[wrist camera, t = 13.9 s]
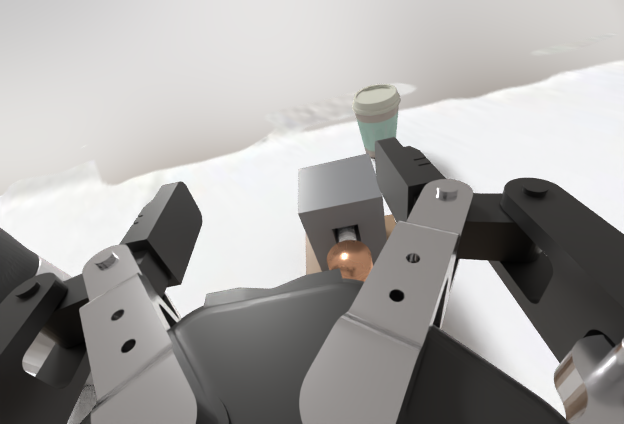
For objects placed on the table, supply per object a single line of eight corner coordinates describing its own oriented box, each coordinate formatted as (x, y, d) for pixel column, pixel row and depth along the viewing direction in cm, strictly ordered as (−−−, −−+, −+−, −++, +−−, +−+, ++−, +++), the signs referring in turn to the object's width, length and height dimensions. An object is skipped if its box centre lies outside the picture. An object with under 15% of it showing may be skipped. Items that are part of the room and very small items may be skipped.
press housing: (446, 385, 28) (464, 329, 19) (311, 398, 30) (264, 354, 21) (393, 219, 45) (387, 144, 35) (307, 235, 47) (280, 168, 37)
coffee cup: (410, 145, 57) (410, 86, 48) (382, 168, 54) (377, 109, 46) (378, 134, 62) (372, 79, 54) (350, 154, 60) (341, 100, 51)
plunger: (379, 298, 29) (375, 273, 26) (337, 304, 30) (328, 280, 27) (359, 207, 39) (354, 179, 36) (328, 213, 40) (320, 186, 36)
